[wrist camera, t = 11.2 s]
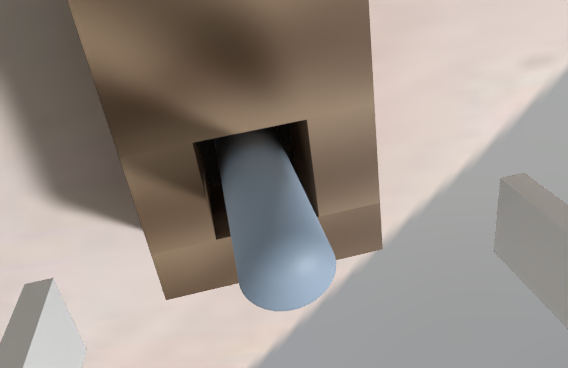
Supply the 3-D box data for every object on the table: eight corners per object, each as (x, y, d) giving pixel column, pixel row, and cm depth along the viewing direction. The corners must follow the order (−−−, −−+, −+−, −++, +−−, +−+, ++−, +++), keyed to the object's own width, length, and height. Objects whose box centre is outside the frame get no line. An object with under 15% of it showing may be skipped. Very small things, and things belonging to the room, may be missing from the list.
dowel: (237, 96, 24) (279, 212, 14) (287, 129, 25) (355, 257, 15) (202, 145, 24) (218, 287, 15) (251, 175, 26) (295, 324, 16)
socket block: (87, -25, 20) (63, -12, 16) (325, -64, 21) (364, -63, 17) (167, 238, 26) (166, 300, 22) (349, 197, 27) (382, 249, 23)
